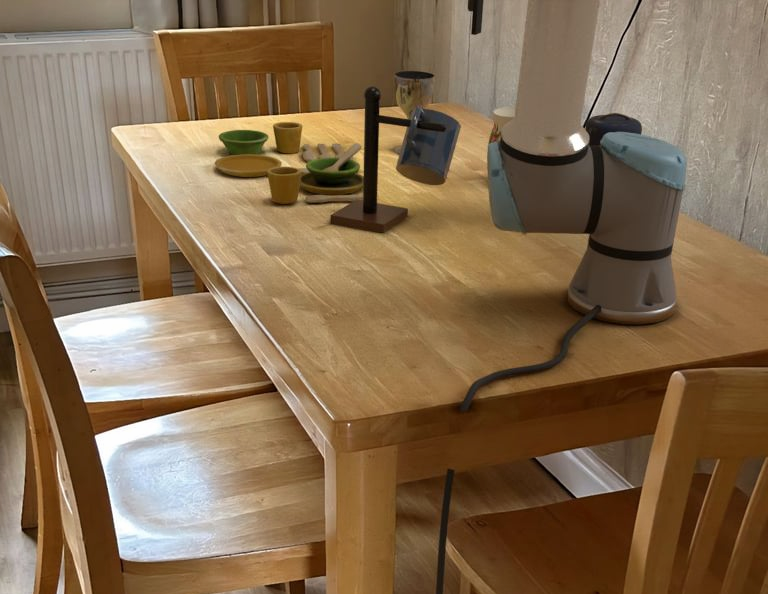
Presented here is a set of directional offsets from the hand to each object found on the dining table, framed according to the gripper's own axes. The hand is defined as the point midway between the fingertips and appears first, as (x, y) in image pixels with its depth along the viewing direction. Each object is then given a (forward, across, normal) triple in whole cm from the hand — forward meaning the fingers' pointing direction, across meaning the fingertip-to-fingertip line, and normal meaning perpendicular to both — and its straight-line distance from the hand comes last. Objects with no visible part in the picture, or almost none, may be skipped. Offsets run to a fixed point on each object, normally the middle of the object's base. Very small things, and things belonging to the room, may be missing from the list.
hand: (515, 38), depth 172 cm
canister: (+29, -17, -5) cm, 34 cm away
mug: (+19, +10, +15) cm, 26 cm away
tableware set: (+29, +44, -1) cm, 52 cm away
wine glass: (+29, +30, -29) cm, 51 cm away
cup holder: (+29, +14, +16) cm, 36 cm away
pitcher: (+29, +4, -18) cm, 34 cm away
